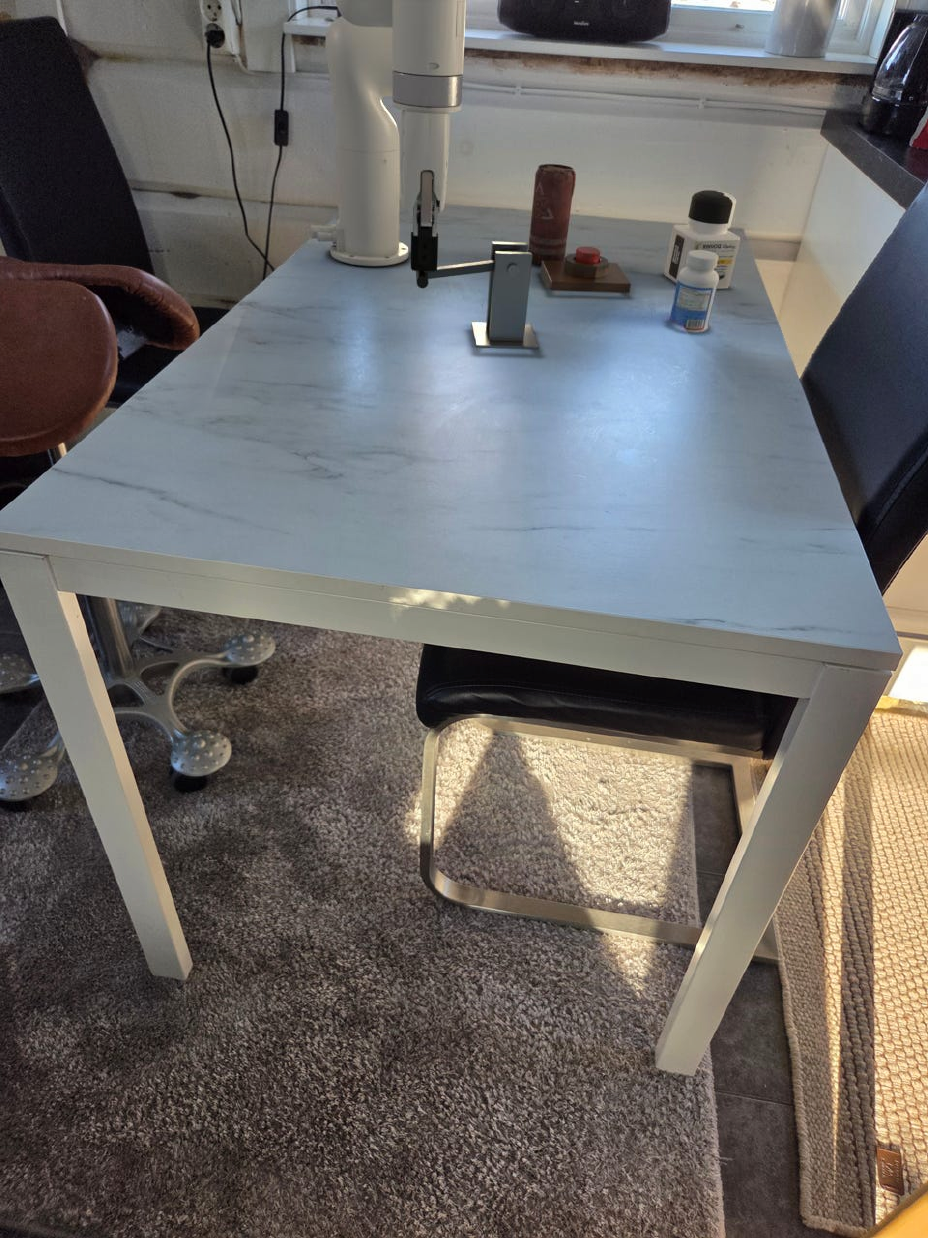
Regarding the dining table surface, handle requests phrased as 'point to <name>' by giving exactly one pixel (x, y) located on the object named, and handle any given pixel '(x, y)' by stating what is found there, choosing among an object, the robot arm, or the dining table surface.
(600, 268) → the button block
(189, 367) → the dining table surface
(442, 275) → the tap lever
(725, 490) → the dining table surface
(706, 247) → the container
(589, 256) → the button
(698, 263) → the pill bottle
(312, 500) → the dining table surface
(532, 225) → the can
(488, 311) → the grey lever stand
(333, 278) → the dining table surface
